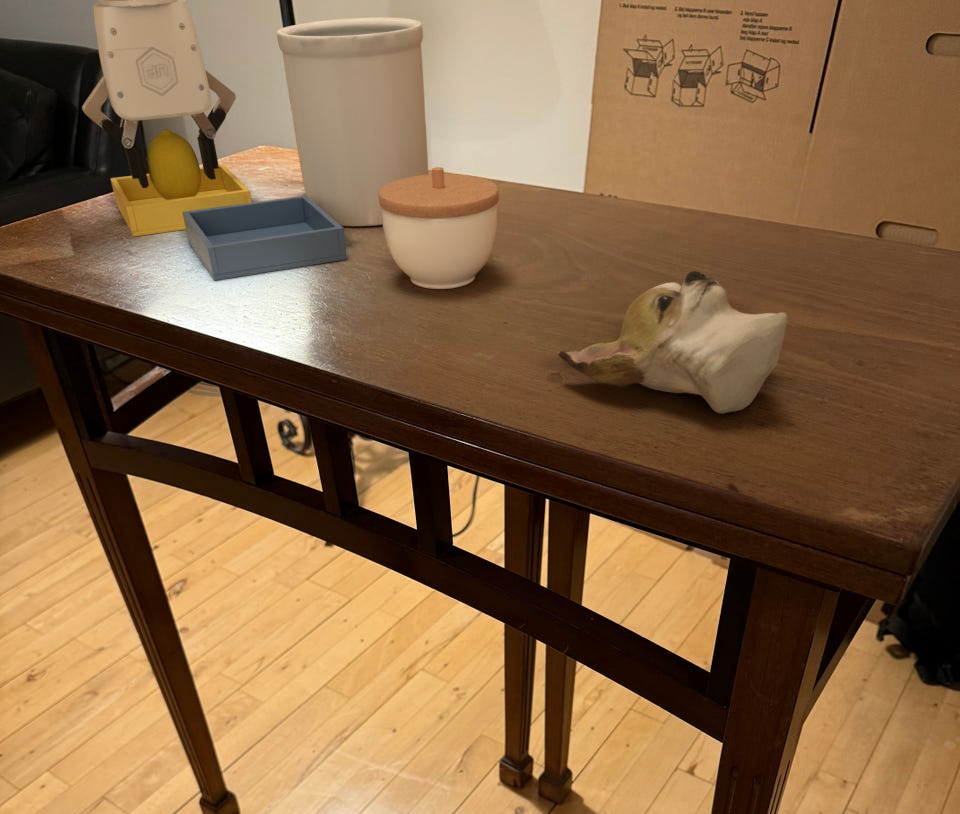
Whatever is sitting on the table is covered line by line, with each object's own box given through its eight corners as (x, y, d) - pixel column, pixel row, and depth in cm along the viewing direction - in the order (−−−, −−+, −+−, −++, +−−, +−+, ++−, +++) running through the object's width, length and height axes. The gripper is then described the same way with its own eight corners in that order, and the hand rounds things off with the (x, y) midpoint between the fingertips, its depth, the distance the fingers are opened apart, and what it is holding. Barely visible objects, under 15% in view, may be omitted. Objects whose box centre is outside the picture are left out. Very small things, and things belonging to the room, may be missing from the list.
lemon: (214, 209, 103) (199, 129, 98) (167, 217, 100) (148, 137, 95) (197, 198, 106) (181, 121, 101) (150, 207, 104) (132, 128, 99)
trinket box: (362, 281, 85) (350, 171, 79) (439, 252, 91) (434, 148, 85) (446, 307, 80) (441, 191, 74) (522, 274, 86) (523, 165, 80)
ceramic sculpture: (747, 312, 54) (550, 273, 62) (730, 447, 59) (552, 394, 67) (830, 268, 60) (641, 238, 68) (808, 394, 65) (635, 351, 73)
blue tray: (214, 280, 86) (207, 247, 84) (188, 242, 95) (182, 211, 93) (347, 259, 90) (343, 227, 88) (310, 224, 99) (306, 195, 97)
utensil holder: (276, 222, 100) (247, 32, 89) (342, 188, 111) (323, 14, 99) (396, 235, 96) (381, 37, 84) (452, 198, 106) (446, 17, 95)
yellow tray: (133, 236, 97) (125, 206, 95) (117, 206, 106) (110, 178, 104) (254, 219, 101) (249, 190, 99) (229, 191, 110) (224, 164, 108)
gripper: (45, -6, 85) (101, 199, 96) (230, -18, 90) (261, 178, 102) (40, -13, 90) (93, 183, 102) (214, -23, 95) (246, 164, 107)
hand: (177, 179), depth 102 cm, fingers open, 6 cm apart
